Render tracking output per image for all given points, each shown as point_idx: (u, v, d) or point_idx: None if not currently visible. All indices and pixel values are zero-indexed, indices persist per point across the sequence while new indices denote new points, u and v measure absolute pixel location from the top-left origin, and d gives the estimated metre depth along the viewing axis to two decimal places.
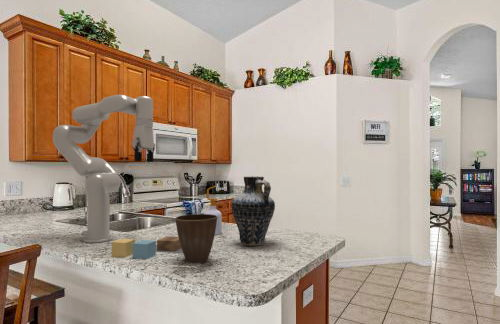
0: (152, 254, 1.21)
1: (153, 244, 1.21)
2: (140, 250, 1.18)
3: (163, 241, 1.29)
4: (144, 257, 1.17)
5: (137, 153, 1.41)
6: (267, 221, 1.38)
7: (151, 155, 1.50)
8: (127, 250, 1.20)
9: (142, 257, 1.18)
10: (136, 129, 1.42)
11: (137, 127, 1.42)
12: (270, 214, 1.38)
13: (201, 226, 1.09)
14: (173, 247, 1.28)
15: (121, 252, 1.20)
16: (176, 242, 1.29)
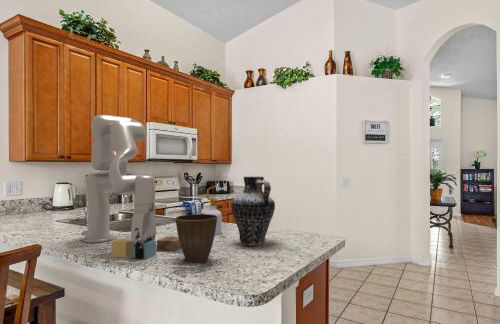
0: (152, 254, 1.21)
1: (153, 244, 1.21)
2: None
3: (163, 241, 1.29)
4: (144, 257, 1.17)
5: (138, 250, 1.17)
6: (267, 221, 1.38)
7: None
8: (127, 250, 1.20)
9: None
10: (135, 218, 1.17)
11: (136, 215, 1.17)
12: (270, 214, 1.38)
13: (201, 226, 1.09)
14: (173, 247, 1.28)
15: (121, 252, 1.20)
16: (176, 242, 1.29)
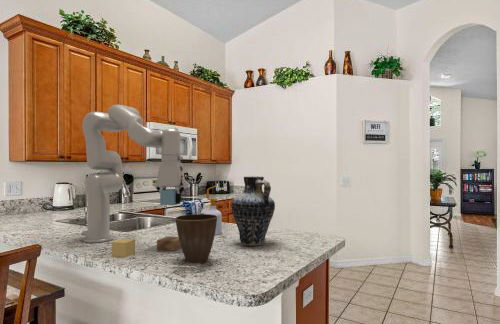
0: (168, 201, 1.30)
1: (169, 192, 1.30)
2: None
3: (163, 241, 1.29)
4: None
5: None
6: (267, 221, 1.38)
7: None
8: (127, 250, 1.20)
9: None
10: None
11: None
12: (270, 214, 1.38)
13: (201, 226, 1.09)
14: (173, 247, 1.28)
15: (121, 252, 1.20)
16: (176, 242, 1.29)
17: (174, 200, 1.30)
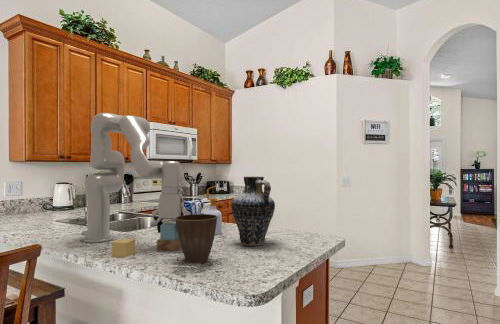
0: (168, 236, 1.29)
1: (169, 228, 1.29)
2: None
3: (163, 241, 1.29)
4: None
5: None
6: (267, 221, 1.38)
7: None
8: (127, 250, 1.20)
9: None
10: None
11: None
12: (270, 214, 1.38)
13: (201, 226, 1.09)
14: (173, 247, 1.28)
15: (121, 252, 1.20)
16: (176, 242, 1.29)
17: (174, 235, 1.30)
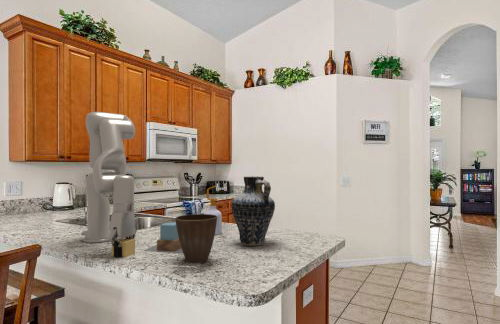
0: (168, 236, 1.29)
1: (169, 228, 1.29)
2: None
3: (163, 241, 1.29)
4: None
5: (117, 248, 1.19)
6: (267, 221, 1.38)
7: None
8: (127, 250, 1.20)
9: None
10: (113, 217, 1.19)
11: (114, 214, 1.19)
12: (270, 214, 1.38)
13: (201, 226, 1.09)
14: (173, 247, 1.28)
15: None
16: (176, 242, 1.29)
17: (174, 235, 1.30)
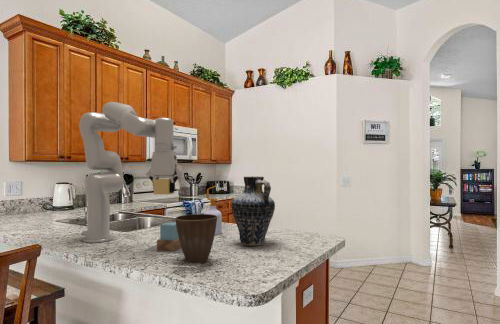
0: (168, 236, 1.29)
1: (169, 228, 1.29)
2: None
3: (163, 241, 1.29)
4: None
5: None
6: (267, 221, 1.38)
7: None
8: (156, 186, 1.29)
9: None
10: None
11: None
12: (270, 214, 1.38)
13: (201, 226, 1.09)
14: (173, 247, 1.28)
15: None
16: (176, 242, 1.29)
17: (174, 235, 1.30)
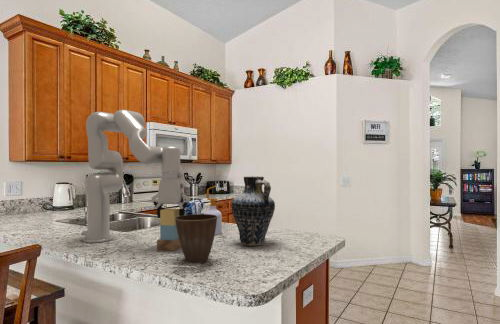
0: (168, 236, 1.29)
1: (169, 228, 1.29)
2: None
3: (163, 241, 1.29)
4: None
5: None
6: (267, 221, 1.38)
7: None
8: (162, 217, 1.30)
9: None
10: None
11: None
12: (270, 214, 1.38)
13: (201, 226, 1.09)
14: (173, 247, 1.28)
15: None
16: (176, 242, 1.29)
17: (174, 235, 1.30)
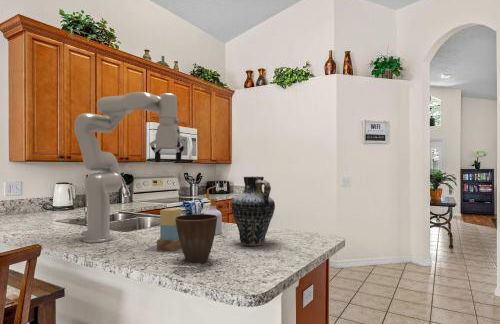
0: (168, 236, 1.29)
1: (169, 228, 1.29)
2: None
3: (163, 241, 1.29)
4: None
5: None
6: (267, 221, 1.38)
7: None
8: (162, 217, 1.30)
9: None
10: None
11: None
12: (270, 214, 1.38)
13: (201, 226, 1.09)
14: (173, 247, 1.28)
15: None
16: (176, 242, 1.29)
17: (174, 235, 1.30)
